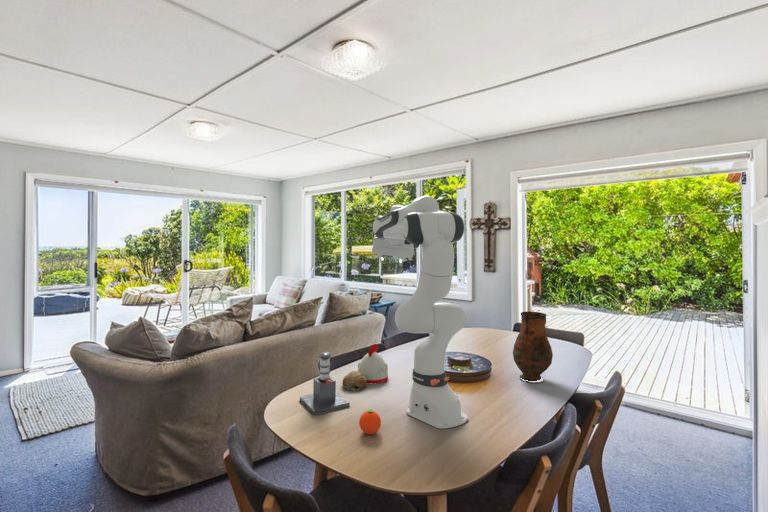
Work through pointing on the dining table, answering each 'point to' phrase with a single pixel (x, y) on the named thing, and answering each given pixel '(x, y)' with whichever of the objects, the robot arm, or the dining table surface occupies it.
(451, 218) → the robot arm
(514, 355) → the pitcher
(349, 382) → the bread roll
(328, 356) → the column
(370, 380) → the kitchen timer
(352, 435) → the dining table surface
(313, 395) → the stand base
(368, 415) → the clementine
